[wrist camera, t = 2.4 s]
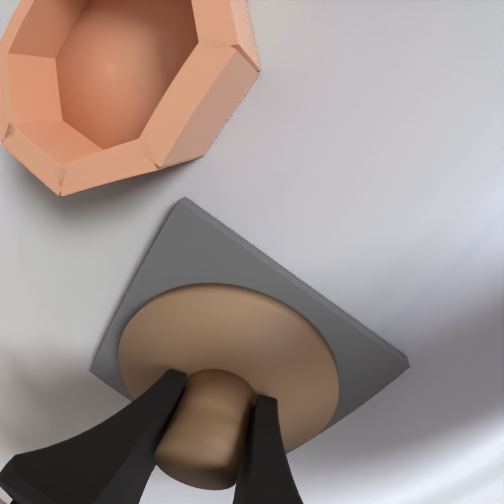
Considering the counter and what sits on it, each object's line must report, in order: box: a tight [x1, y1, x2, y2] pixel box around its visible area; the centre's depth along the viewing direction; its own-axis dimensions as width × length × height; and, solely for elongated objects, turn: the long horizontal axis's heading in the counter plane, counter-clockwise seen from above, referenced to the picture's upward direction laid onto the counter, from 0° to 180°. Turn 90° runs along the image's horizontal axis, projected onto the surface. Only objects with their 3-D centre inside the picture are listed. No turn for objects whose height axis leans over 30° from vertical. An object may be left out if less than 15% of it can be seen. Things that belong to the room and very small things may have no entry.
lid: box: [118, 283, 339, 490], centre depth 10 cm, size 9×9×4 cm
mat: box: [90, 197, 410, 454], centre depth 12 cm, size 10×10×1 cm
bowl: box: [0, 0, 261, 196], centre depth 7 cm, size 8×8×3 cm
